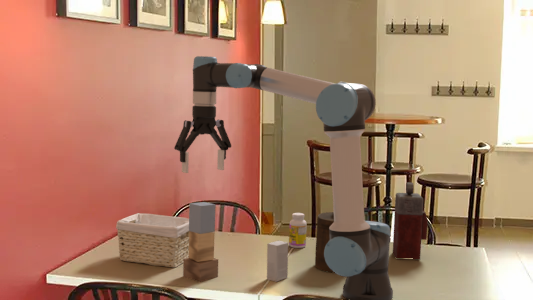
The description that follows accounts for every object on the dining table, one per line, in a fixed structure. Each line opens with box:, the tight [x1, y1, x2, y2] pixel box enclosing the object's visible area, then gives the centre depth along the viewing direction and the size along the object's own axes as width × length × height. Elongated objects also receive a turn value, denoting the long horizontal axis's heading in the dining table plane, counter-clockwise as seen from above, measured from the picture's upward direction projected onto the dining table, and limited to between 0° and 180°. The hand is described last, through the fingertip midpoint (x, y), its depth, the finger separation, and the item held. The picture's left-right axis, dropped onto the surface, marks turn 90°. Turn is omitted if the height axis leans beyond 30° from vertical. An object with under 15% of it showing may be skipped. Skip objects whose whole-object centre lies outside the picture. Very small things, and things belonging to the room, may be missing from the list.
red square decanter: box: [392, 182, 429, 260], centre depth 251 cm, size 9×11×28 cm
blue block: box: [188, 201, 216, 234], centre depth 219 cm, size 6×6×9 cm
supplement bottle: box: [288, 212, 308, 249], centre depth 262 cm, size 7×7×13 cm
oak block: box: [189, 231, 216, 262], centre depth 220 cm, size 6×6×9 cm
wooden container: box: [314, 211, 334, 273], centre depth 235 cm, size 15×15×22 cm
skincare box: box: [266, 240, 289, 282], centre depth 220 cm, size 6×4×12 cm
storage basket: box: [115, 212, 189, 268], centre depth 238 cm, size 24×16×15 cm
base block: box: [182, 257, 219, 283], centre depth 220 cm, size 8×8×6 cm
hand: (203, 171), depth 218 cm, fingers open, 13 cm apart
